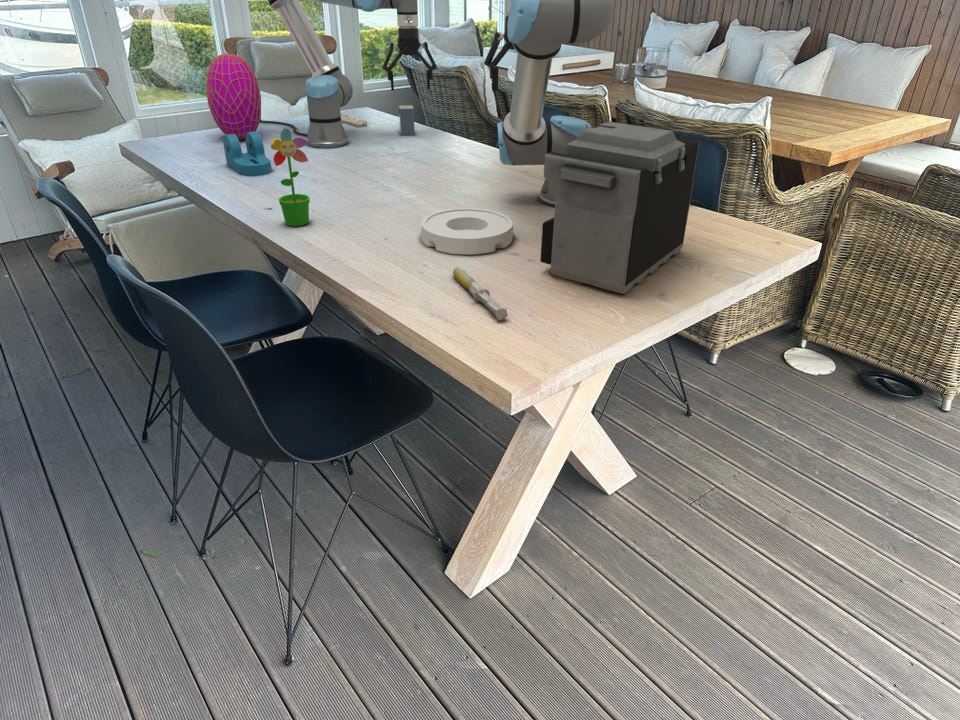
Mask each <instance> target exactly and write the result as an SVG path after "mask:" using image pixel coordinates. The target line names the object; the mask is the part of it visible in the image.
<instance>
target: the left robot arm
mask: <svg viewBox="0 0 960 720" xmlns="http://www.w3.org/2000/svg"><path fill="white" fill-rule="evenodd" d="M310 1H311V2H317V3H321V4H322V3H324V4H328V5H333V6H340V7H346V8H351V9H355V10H361V11H362V12H366V13H373V12H376V11H379V10H396V22H397V23H396V24H397V27H398V28H397V42H393V41H390V42H389V49H388V51H387V54H386V56H385V59H384V62H383V64H382V65H381V69H382V70H383V71H386V73H387V80H388V82H390V89H391V91H395V85H394V71H393V69H394V67H395V66H396V65H397V63H398V61H399V60H400V59H401V58H402V56H405V57H406V56H407V57H408V56H410V57H411V56H417V58H419V60H420V61H421V62H422V63H423V64H424V65H425V67H426V68H427V69H426V90H431V81H432V80H433V71H434V70H437V69H438V66H437V64H436V62H435V60H434V57H433V55H432V54H431V51H430V49H429V43H428V42H427V41H423V42H422V41H421V42H420V34H419V28H418V27H419V8H418V6H419V4H418V0H310ZM267 3H268V4H269V6H270V7H271V8H272V9H275V10H276V11H277V12H278V13H279V16H280V18H281V19H282V21H283V23H284V25H285V26H286V28H287V31H288V32H289V34H290V36H291V37H292V39H293V42H294V43H295V45H296V47H297V48H298V50H299V52H300V54H301V56H302V58H303V59H304V61H305V63H306V65H307V67H308V69H309V71H310V73H311V77H309V78H307V79H306V80H305V94H306V102H307V103H306V104H307V110H308V111H307V112H308V119H309V120H308V121H309V125H308V129H307V133H304V132H299V131H297V127H296V126H295V125H294V124H292V123H288V122H283V121H275V120H263V119H260V123H262V124H263V123H264V124H274V125H275V124H276V125H281V126H288V127H291V128H292V129H293V133H294V134H295V135H298V136H302V137H306V139H307V140H308V141H309V143H307V144H306V145H307V146H308V147H311V148H318V149H333V148H339V147H343V146H346V145H348V144H349V139H348V138H349V137H348V135H347V132H346V130H345V127H344V125H343V123H342V121H341V113H342V112H341V108H343V107H344V106H345V107H346V105H348V104H349V102H350V101H351V99H352V97H353V95H354V87H353V83H352V82H351V80H350V78H349V77H347V76H346V75H345V74H343V72H342V70H341V69H340V67H339V65H338V64H336V63H333V62H332V60H331V58H330V56H329V55H328V52H327V51H326V49H325V47H324V45H323V43H322V41H321V39H320V37H319V35H318V34H317V32H316V29H315V28H314V26H313V24H312V22H311V21H310V18H309V17H308V15H307V13H306V11H305V10H304V7H303V6H302V4H301V2H300V0H267ZM396 48H398V49H399V51H398V52H397V54H396V55H395V56H394V58H393V60H391V57H392V56H393V52H394V50H395V49H396ZM420 48H422V49H423V50H424V51H425V54H426V56H427V58H428V59H429V62H430V63H431V65H430V63H428V61H427V60H426V59H425V58H424V56H423V55H422V53H420V51H419V49H420ZM390 60H391V62H390ZM389 62H390V64H389Z"/></svg>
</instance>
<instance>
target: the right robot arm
mask: <svg viewBox="0 0 960 720" xmlns="http://www.w3.org/2000/svg"><path fill="white" fill-rule="evenodd" d="M504 7H505V8H504V9H505V11H504V12H505V14H506V15H505V17H504V32H503V33H502V31H496V32H495V33H494V37H493V41H492V44H491V46H490V48H489V50H488V53H487V54H486V58H485V60H484V62H483V64H484V65H485V66H487V67H489V79H490V80H492V81H491V82H492V84H491V87H492V90H491V92H497V91H499V71H500V70H499V67H498V64H499V63H500V62H501V61H502V60H503V58H504V57H505V55H506V54H507V53H508V52H509V50H511V51H514V50H515V51H516V53H517V54H516V55H517V56H516V63H515V70H514V71H515V72H514V80H513V87H512V96H511V103H510V104H511V105H510V111H509V112H508V113H507V114H506V115H505V117H504V119H503V121H501V122H498V123H497V124H496V125H497V140H498V151H499V162H500V163H501V164H502V165H504V166H514V167H515V166H544V162H545V154H547V153H549V152H556V153H562V154H566V144H568V143H570V142H573V141H575V140H577V138H578V137H579V135H580V134H581V132H582V131H583V130H586V129H589V128H592V126H591V124H590V123H589V122H588V121H586V120H585V119H581V118H577V117H573V116H569V115H568V116H567V115H552V116H551V117H550V119H549V121H545V118H544V117H543V114H544V107H545V101H546V97H547V91H548V84H549V80H550V74H551V70H552V69H551V68H552V64H553V58H555V57H556V56H558V54H559V53H560V51H561V48H562V44H581V43H587V42H589V41H592V40H594V39H596V38H598V37H599V36H600V35H602V34H603V33H604V32H605V31H607V28H608V27H609V26H610V25H611V23H612V21H613V17H614V15H615V1H614V0H505V6H504ZM502 40H504V42H505V43H504V44H503V46H502V48H501V49H500V50H499V52H498V53H497V51H498V49H499V46H500V44H501V41H502ZM496 53H497V54H496ZM556 198H557V197H556V196H555V194H554V192H553V191H552V189H551V187H550V186H549V184H548V182H547V181H546V179H545V178H544V181H543V184H542V187H541V189H540V192H539V200H540V202H542V203H543V204H546V205H549V206H553V207H555V202H556ZM692 203H693V204H697V205H698V206H699V207H702V208H704V207H705V205H704V204H703V203H702V202H701V201H699V200H697V199H691V200H690V204H692Z"/></svg>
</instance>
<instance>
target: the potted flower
mask: <svg viewBox="0 0 960 720" xmlns="http://www.w3.org/2000/svg"><path fill="white" fill-rule="evenodd" d="M307 143H309V141H308V140H307V138H306V137H305V136H301V135H298V136H295V137H293V135H292V131H291V130H290V128H288V127H284V128H283V129H282V130H281V131H280V139H279V138H273V139H272V141H271V145H270V148H271V149H272V150H274V151H275V153H274V155H273V163H274V165H275V167H277V166H282V164H283V163H285V161H286V158H287V164H288V165H287V166H288V171H289V178H284V179H282V180H281V181H280V184H281V185H282V186H285V187H291V193H290V194H286V195H282V196H280V197H279V198H278V202H279V205H280V207H281V210H282V215H283V219H284V223H285V225H287V226H290V227H291V226H292V227H301V226H304V225H306V224H309V222H310V206H309V205H310V196H309V195H307V194H303V193H296V192H295V191H296V190H295V184H294V178H296V177H297V176H299V174H300V173H299V171H297V170H295V171H293V168H292V162H291V161H292V160H291V159H293V160H294V161H296V162H297V163H307V162H309V158H308V156H307V155H306V153H305V152H303V150H301V148H303V147H305V146H306V145H307Z"/></svg>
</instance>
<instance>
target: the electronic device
mask: <svg viewBox="0 0 960 720" xmlns="http://www.w3.org/2000/svg"><path fill="white" fill-rule="evenodd" d="M700 142H701V141H700V140H697V139H690V138H683V137H677V136H676V135H675V133H674V131H673V130H670V129H663V128H656V127H649V126H643V125H636V124H635V125H634V124H628V123H621V122H614V121H606V122H603V123H600V124H599V125H598V126H597V127H591V128H589V129H586V130H583V131H582V132H581V134H580V135H579V137H578V138H577V140H575V141H573V142H570V143H568V144H566V154H562V153H556V152H549V153H547V154H545V162H544V165H543V178H544V180H545V179H546V181H547V182H548V184H549V186H550V187H551V189H552V191H553V192H554V194H555V196H556V197H557V198H556V202H555V206H554V213H553V215H554V216H553V217H551V218H549V219H547V220H546V221H543V223H542V227H541V244H540V258H539V259H540V261H539V262H540V263H543V264H546V265H549V266H550V269H549V271H550V273H551V274H552V275H553V276H557V277H561V278H564V279H568V280H571V281H575V282H578V283H582V284H586V285H589V286H592V287H596V288H600V289H604V290H607V291H610V292H614V293H618V294H621V295H625V294H627V293H628V292H630V291H631V289H632V288H633V286H634V285H636V284H640V283H641V282H643V281H644V279H645V278H646V276H648V275H652V274H653V273H654V272H655V271H657V270H658V268H659V267H660V266H661V265H664V264H666V263H667V262H669V260H670V258H671V257H672V256H676V255H678V254H679V253H680V251H681V250H682V248H683V246H684V241H685V235H686V229H687V224H688V217H689V211H690V205H691V203H690V200H692V193H693V188H694V178H695V172H696V167H697V166H696V165H697V160H698V156H699V155H698V154H699V148H700Z"/></svg>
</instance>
